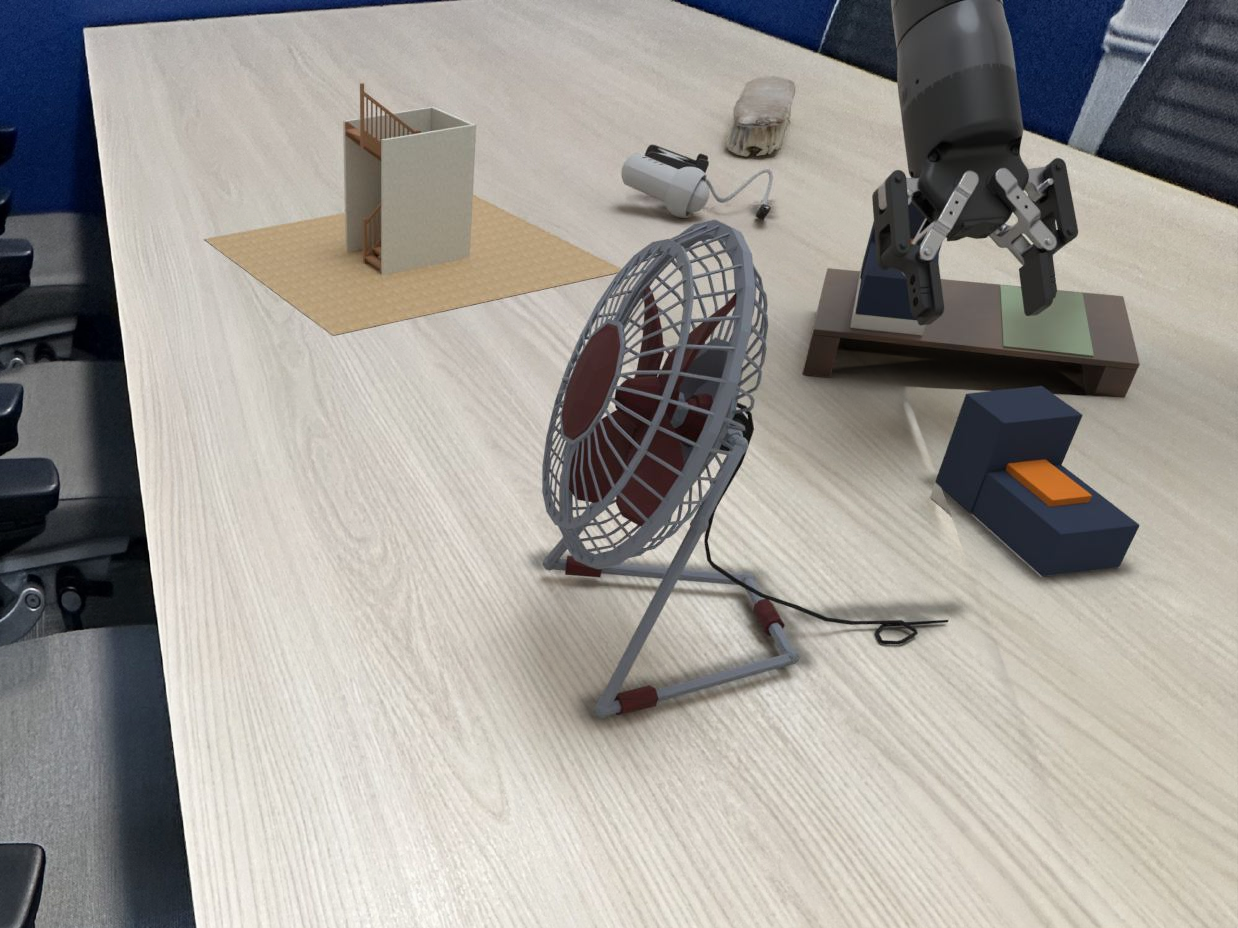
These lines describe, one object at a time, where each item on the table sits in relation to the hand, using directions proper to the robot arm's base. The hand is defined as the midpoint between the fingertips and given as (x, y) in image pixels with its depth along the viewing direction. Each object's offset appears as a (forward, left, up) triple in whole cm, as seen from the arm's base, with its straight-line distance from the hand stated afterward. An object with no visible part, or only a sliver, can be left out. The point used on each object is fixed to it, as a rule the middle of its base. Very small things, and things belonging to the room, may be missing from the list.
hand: (986, 315), depth 88 cm
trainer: (-4, +11, -11) cm, 16 cm away
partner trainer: (+1, -23, -7) cm, 25 cm away
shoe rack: (-5, -22, -11) cm, 26 cm away
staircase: (+49, -44, -12) cm, 67 cm away
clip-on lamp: (+17, -63, -12) cm, 66 cm away
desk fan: (+17, +27, -12) cm, 34 cm away
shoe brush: (+8, -96, -12) cm, 97 cm away
